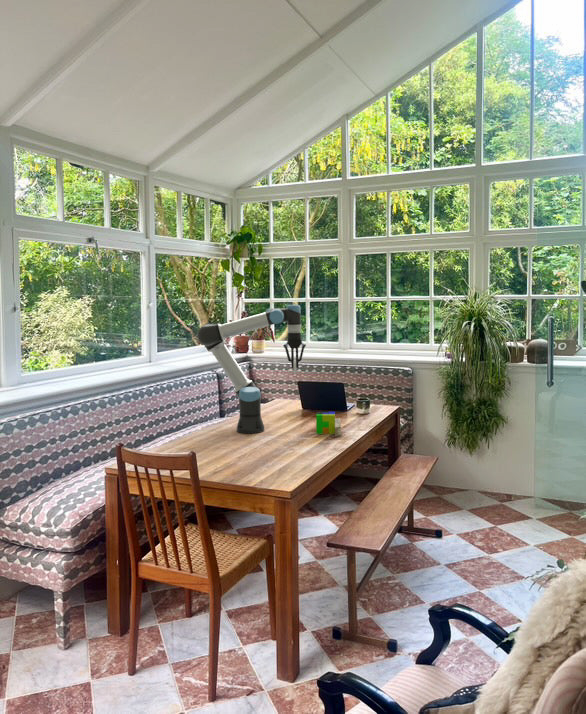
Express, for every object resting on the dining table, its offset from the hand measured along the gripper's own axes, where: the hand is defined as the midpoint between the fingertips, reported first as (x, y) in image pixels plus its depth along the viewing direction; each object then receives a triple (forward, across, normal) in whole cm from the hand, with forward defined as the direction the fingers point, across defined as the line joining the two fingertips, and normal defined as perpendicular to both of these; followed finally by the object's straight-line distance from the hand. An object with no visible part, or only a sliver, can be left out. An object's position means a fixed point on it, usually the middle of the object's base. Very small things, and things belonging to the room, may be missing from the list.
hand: (295, 373), depth 354 cm
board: (+29, +24, -18) cm, 42 cm away
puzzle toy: (+30, +18, -18) cm, 39 cm away
